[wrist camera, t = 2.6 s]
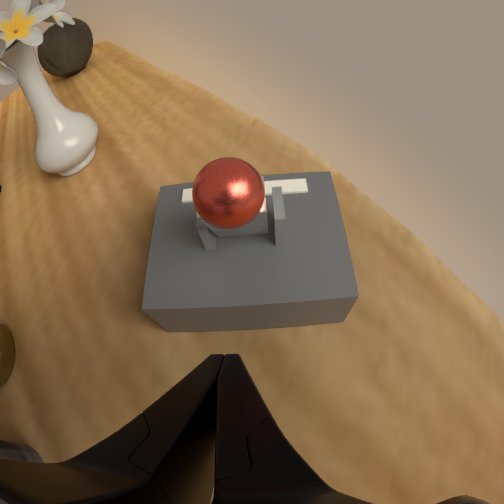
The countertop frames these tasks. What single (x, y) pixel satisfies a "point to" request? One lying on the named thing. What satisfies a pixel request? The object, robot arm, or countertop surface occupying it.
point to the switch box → (251, 262)
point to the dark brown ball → (66, 48)
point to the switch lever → (231, 198)
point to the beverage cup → (18, 452)
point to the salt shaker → (6, 353)
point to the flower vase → (44, 89)
